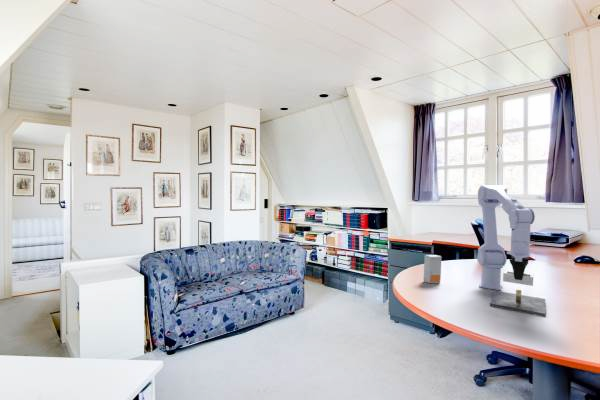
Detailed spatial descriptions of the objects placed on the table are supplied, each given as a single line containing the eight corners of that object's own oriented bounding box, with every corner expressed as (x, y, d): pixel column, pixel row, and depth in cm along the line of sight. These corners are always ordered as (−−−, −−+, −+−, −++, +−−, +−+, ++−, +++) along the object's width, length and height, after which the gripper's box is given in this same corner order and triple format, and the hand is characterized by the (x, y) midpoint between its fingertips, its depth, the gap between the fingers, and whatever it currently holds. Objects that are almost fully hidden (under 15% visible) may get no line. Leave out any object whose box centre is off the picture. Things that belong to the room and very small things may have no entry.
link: (503, 281, 122) (503, 273, 122) (504, 278, 126) (504, 270, 126) (532, 285, 117) (533, 277, 117) (533, 283, 121) (533, 274, 121)
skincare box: (429, 283, 146) (430, 256, 146) (423, 281, 151) (424, 254, 150) (440, 283, 148) (441, 256, 148) (434, 280, 152) (435, 254, 152)
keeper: (496, 293, 135) (496, 280, 134) (545, 301, 125) (545, 288, 125) (489, 305, 118) (490, 292, 118) (545, 316, 109) (546, 301, 109)
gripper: (509, 238, 130) (507, 272, 130) (505, 242, 118) (504, 280, 118) (531, 240, 125) (529, 275, 126) (529, 244, 114) (528, 283, 114)
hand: (518, 278), depth 122 cm, fingers closed on link, 5 cm apart
